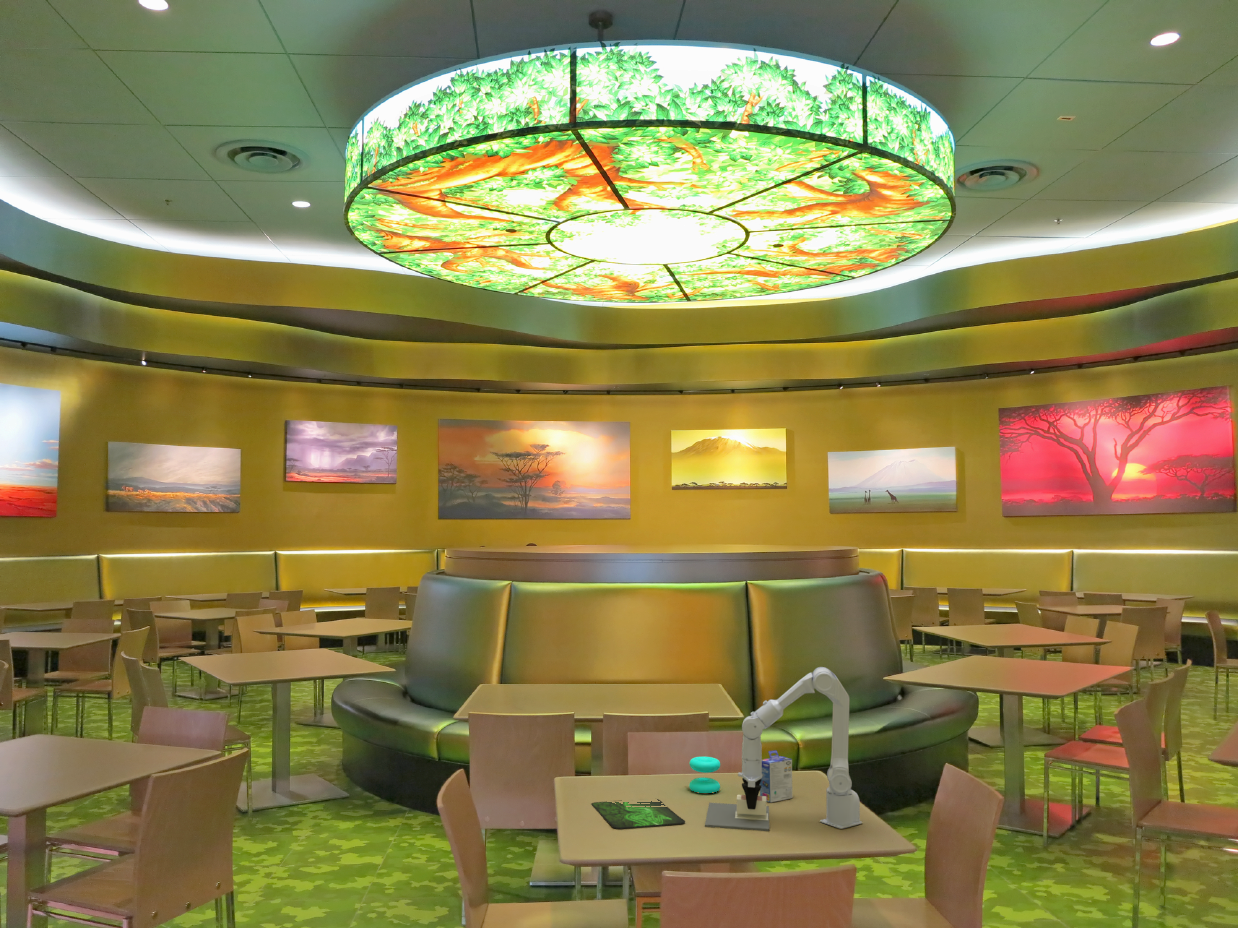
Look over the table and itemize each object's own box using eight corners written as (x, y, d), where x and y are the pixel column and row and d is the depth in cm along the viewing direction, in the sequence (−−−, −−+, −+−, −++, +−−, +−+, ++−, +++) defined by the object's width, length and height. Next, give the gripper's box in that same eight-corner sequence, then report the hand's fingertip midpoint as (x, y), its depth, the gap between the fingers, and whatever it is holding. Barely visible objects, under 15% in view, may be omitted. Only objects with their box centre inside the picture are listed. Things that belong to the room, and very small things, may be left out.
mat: (768, 808, 277) (768, 805, 277) (769, 830, 256) (769, 828, 256) (709, 804, 280) (709, 802, 280) (704, 826, 258) (704, 824, 258)
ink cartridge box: (781, 794, 293) (781, 748, 294) (793, 798, 288) (793, 751, 289) (758, 798, 287) (758, 751, 288) (770, 803, 283) (770, 755, 284)
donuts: (687, 761, 292) (691, 754, 302) (686, 793, 292) (691, 785, 301) (718, 763, 290) (722, 756, 300) (718, 796, 289) (721, 787, 299)
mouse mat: (588, 803, 280) (588, 800, 280) (656, 798, 286) (656, 795, 286) (614, 831, 254) (614, 827, 254) (687, 825, 260) (687, 821, 260)
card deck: (737, 808, 270) (737, 794, 271) (766, 810, 269) (766, 795, 269) (736, 813, 265) (736, 799, 266) (766, 815, 264) (766, 800, 264)
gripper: (738, 752, 276) (738, 798, 275) (737, 763, 262) (737, 812, 261) (762, 753, 275) (762, 799, 274) (762, 765, 261) (762, 813, 260)
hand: (751, 805), depth 267 cm, fingers closed on card deck, 5 cm apart
